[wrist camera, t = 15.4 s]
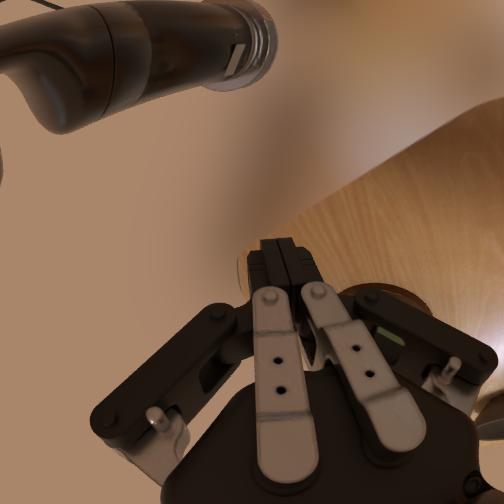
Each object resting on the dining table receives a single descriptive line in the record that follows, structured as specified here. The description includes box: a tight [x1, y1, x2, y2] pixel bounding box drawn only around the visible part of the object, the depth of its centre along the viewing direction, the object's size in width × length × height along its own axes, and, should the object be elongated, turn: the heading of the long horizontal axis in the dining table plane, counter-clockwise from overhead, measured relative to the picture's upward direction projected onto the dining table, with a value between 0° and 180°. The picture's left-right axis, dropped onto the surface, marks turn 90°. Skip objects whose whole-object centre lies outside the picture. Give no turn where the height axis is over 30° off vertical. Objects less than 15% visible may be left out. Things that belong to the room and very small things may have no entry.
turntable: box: [340, 283, 433, 317], centre depth 37 cm, size 16×16×1 cm
